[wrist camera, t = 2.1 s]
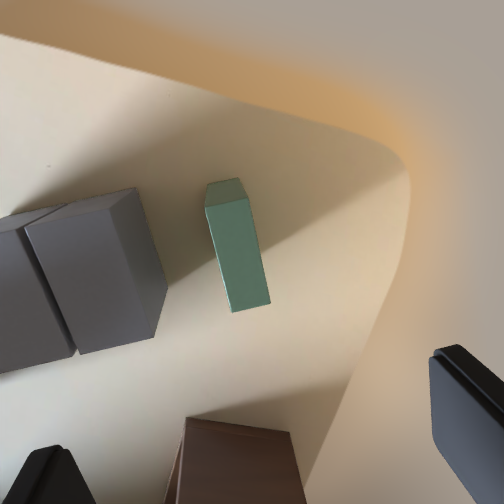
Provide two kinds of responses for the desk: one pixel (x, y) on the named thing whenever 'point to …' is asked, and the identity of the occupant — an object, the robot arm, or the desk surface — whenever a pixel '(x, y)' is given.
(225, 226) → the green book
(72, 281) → the grey blocks
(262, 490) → the book rack
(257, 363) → the desk surface
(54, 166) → the desk surface
